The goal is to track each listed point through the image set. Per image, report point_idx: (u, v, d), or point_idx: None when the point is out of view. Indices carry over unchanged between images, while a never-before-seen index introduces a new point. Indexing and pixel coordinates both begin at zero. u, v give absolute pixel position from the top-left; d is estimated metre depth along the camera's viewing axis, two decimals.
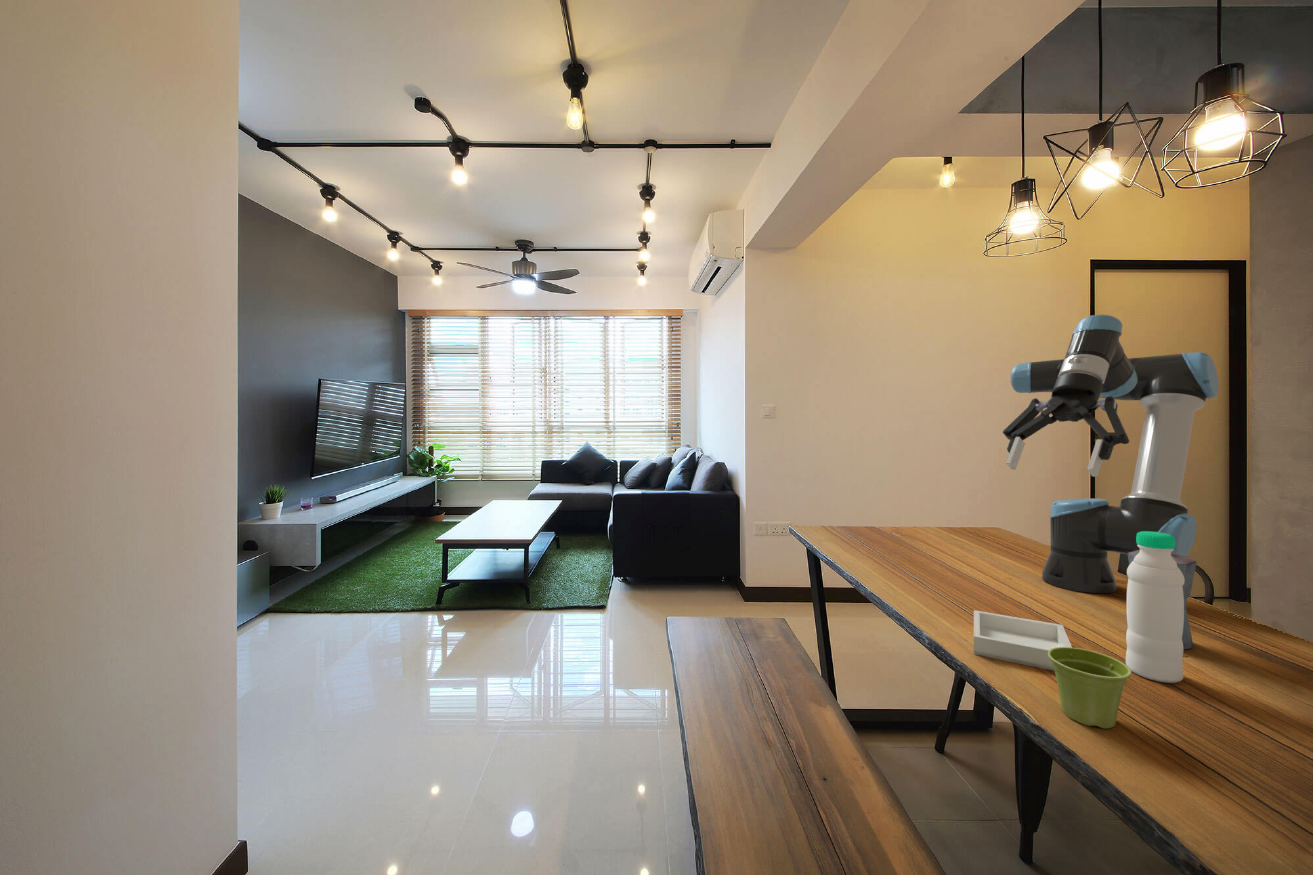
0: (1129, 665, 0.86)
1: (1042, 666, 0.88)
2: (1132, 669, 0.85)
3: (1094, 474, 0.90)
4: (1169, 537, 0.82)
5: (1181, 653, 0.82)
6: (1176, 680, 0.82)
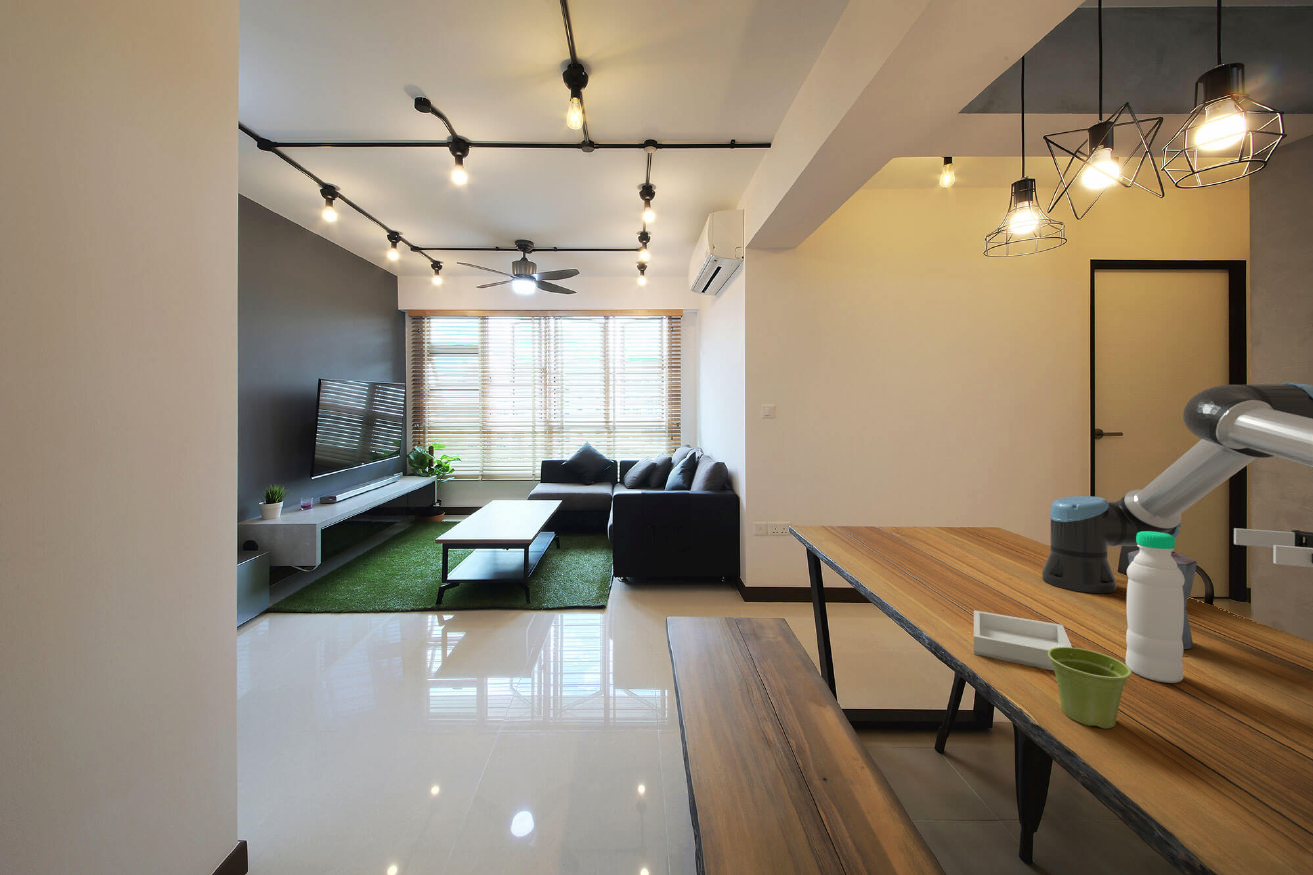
0: (1129, 665, 0.86)
1: (1042, 666, 0.88)
2: (1132, 669, 0.85)
3: (1234, 533, 0.84)
4: (1169, 537, 0.82)
5: (1181, 653, 0.82)
6: (1176, 680, 0.82)
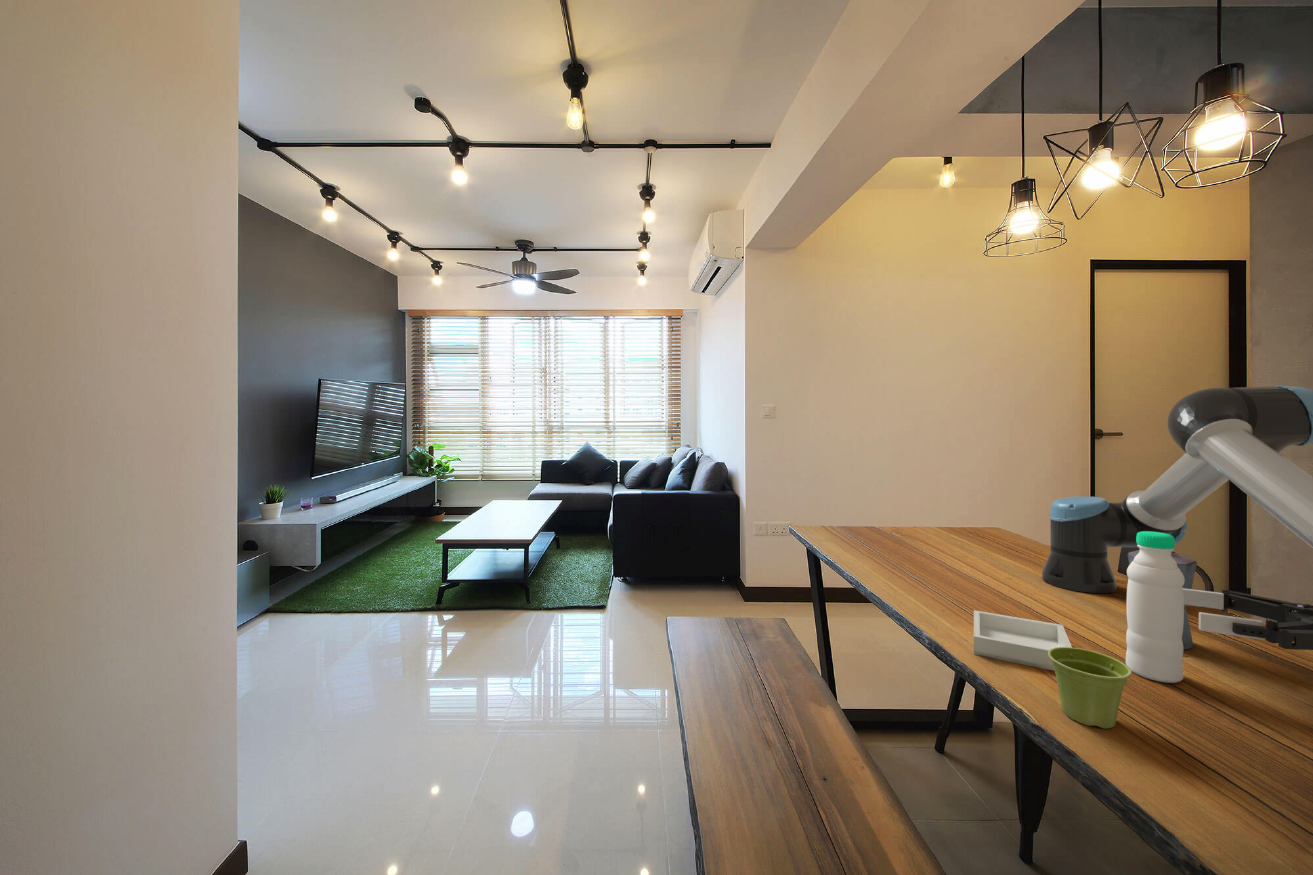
0: (1129, 665, 0.86)
1: (1042, 666, 0.88)
2: (1132, 669, 0.85)
3: None
4: (1169, 537, 0.82)
5: (1181, 653, 0.82)
6: (1176, 680, 0.82)
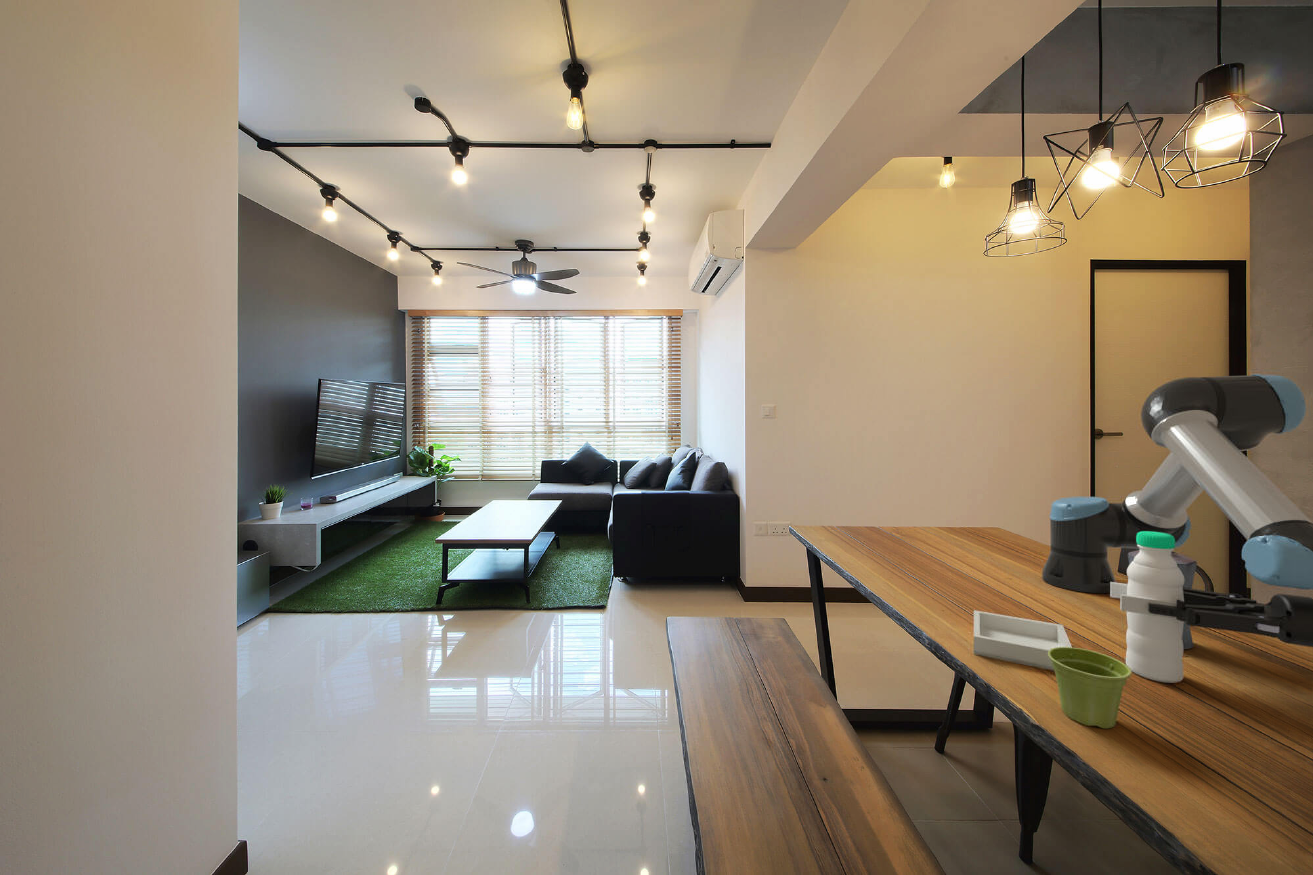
0: (1129, 665, 0.86)
1: (1042, 666, 0.88)
2: (1132, 669, 0.85)
3: (1110, 586, 0.91)
4: (1169, 537, 0.82)
5: (1181, 653, 0.82)
6: (1176, 680, 0.82)
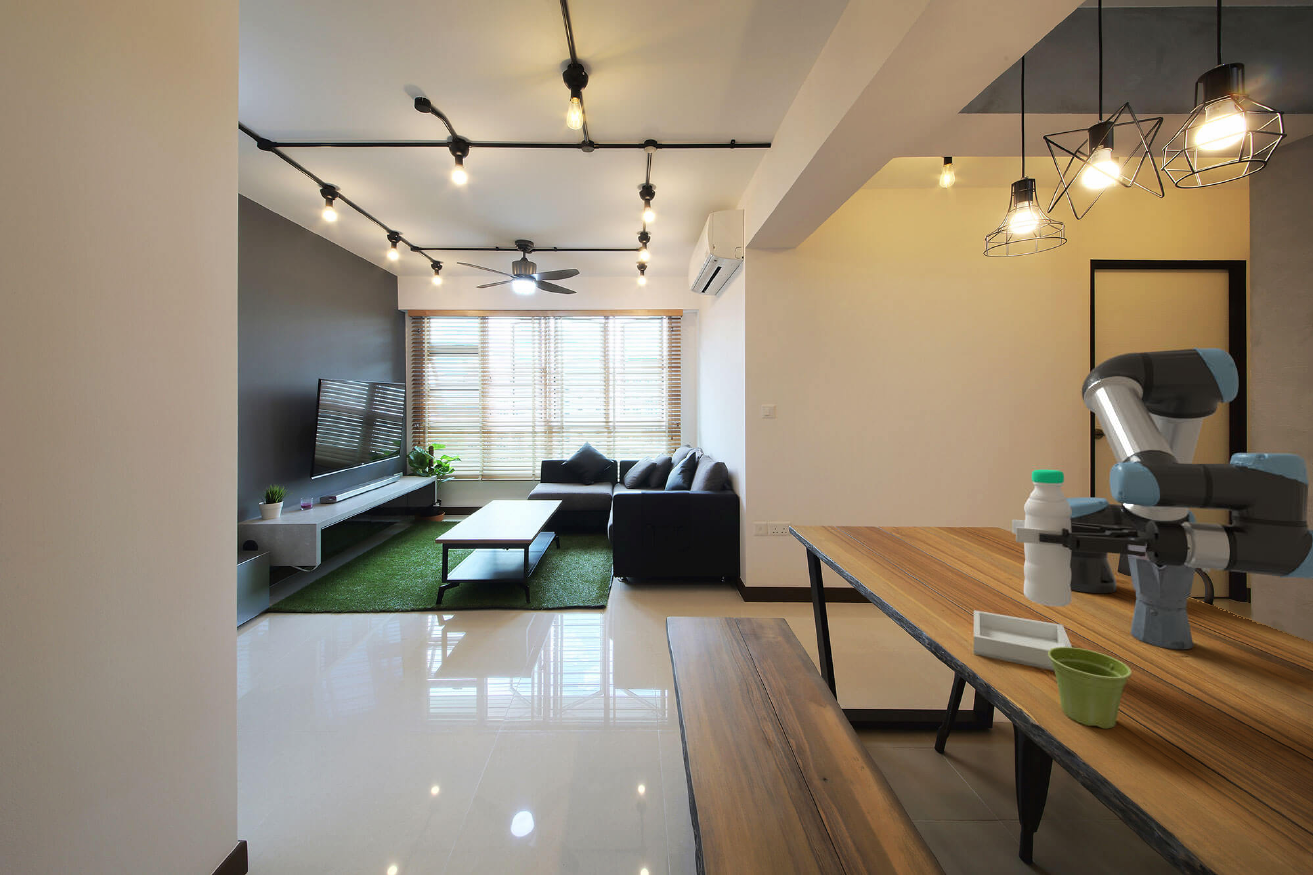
0: (1025, 593, 0.93)
1: (1042, 666, 0.88)
2: (1028, 596, 0.92)
3: (1012, 523, 0.98)
4: (1058, 472, 0.89)
5: (1068, 579, 0.89)
6: (1064, 604, 0.89)
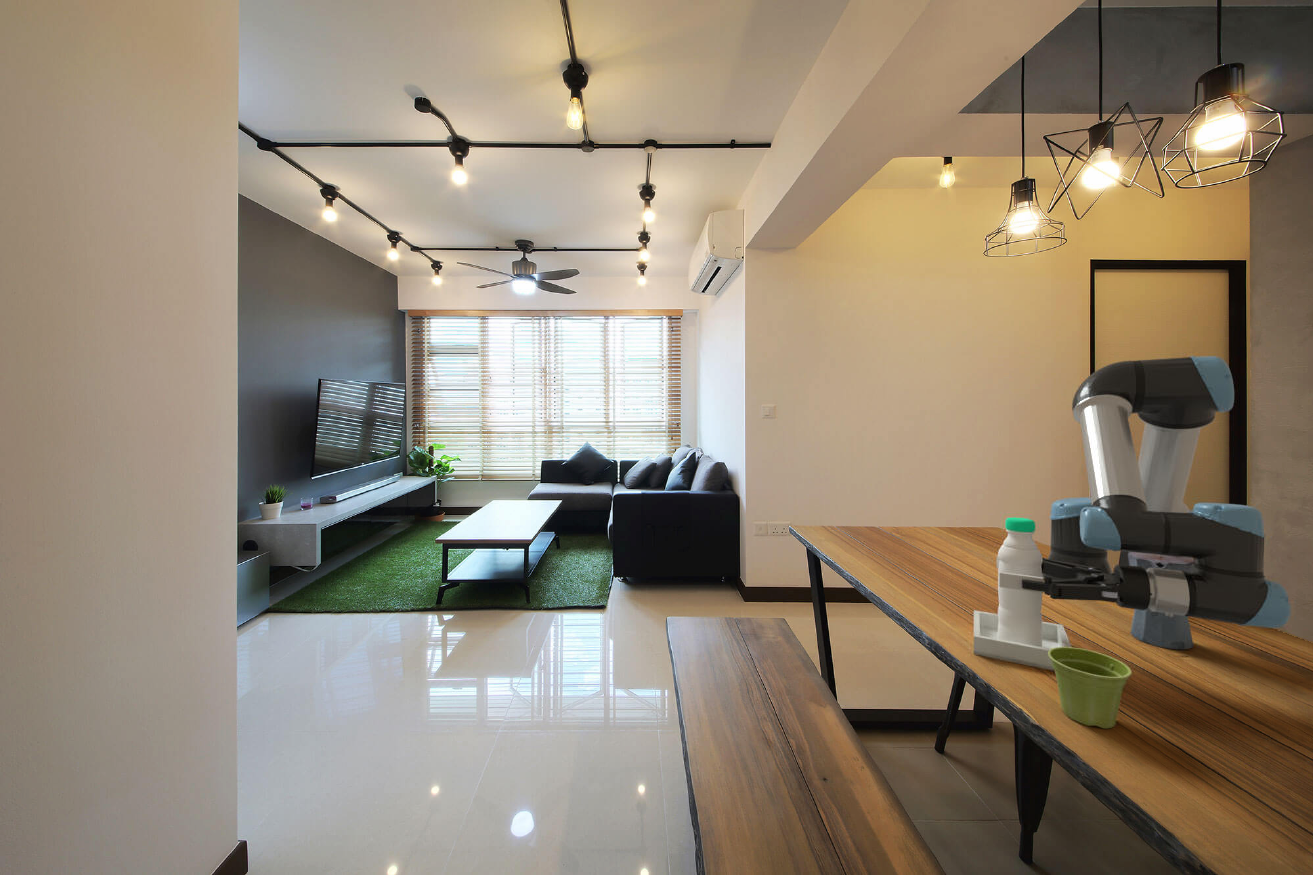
0: (999, 637, 0.96)
1: (1042, 666, 0.88)
2: None
3: None
4: (1029, 522, 0.93)
5: (1039, 625, 0.92)
6: None
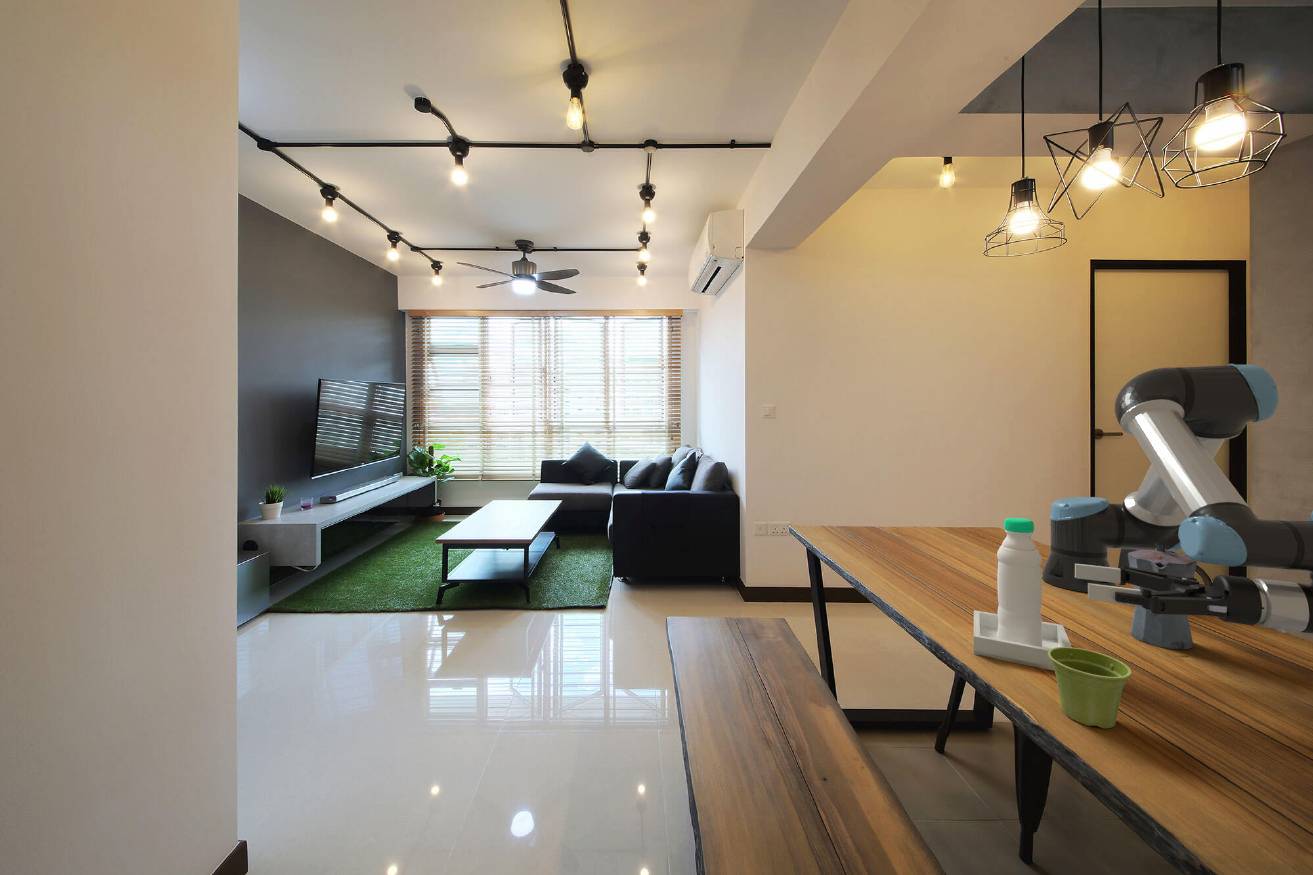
0: (999, 637, 0.96)
1: (1042, 666, 0.88)
2: None
3: (1075, 567, 0.96)
4: (1028, 522, 0.93)
5: (1039, 625, 0.92)
6: None
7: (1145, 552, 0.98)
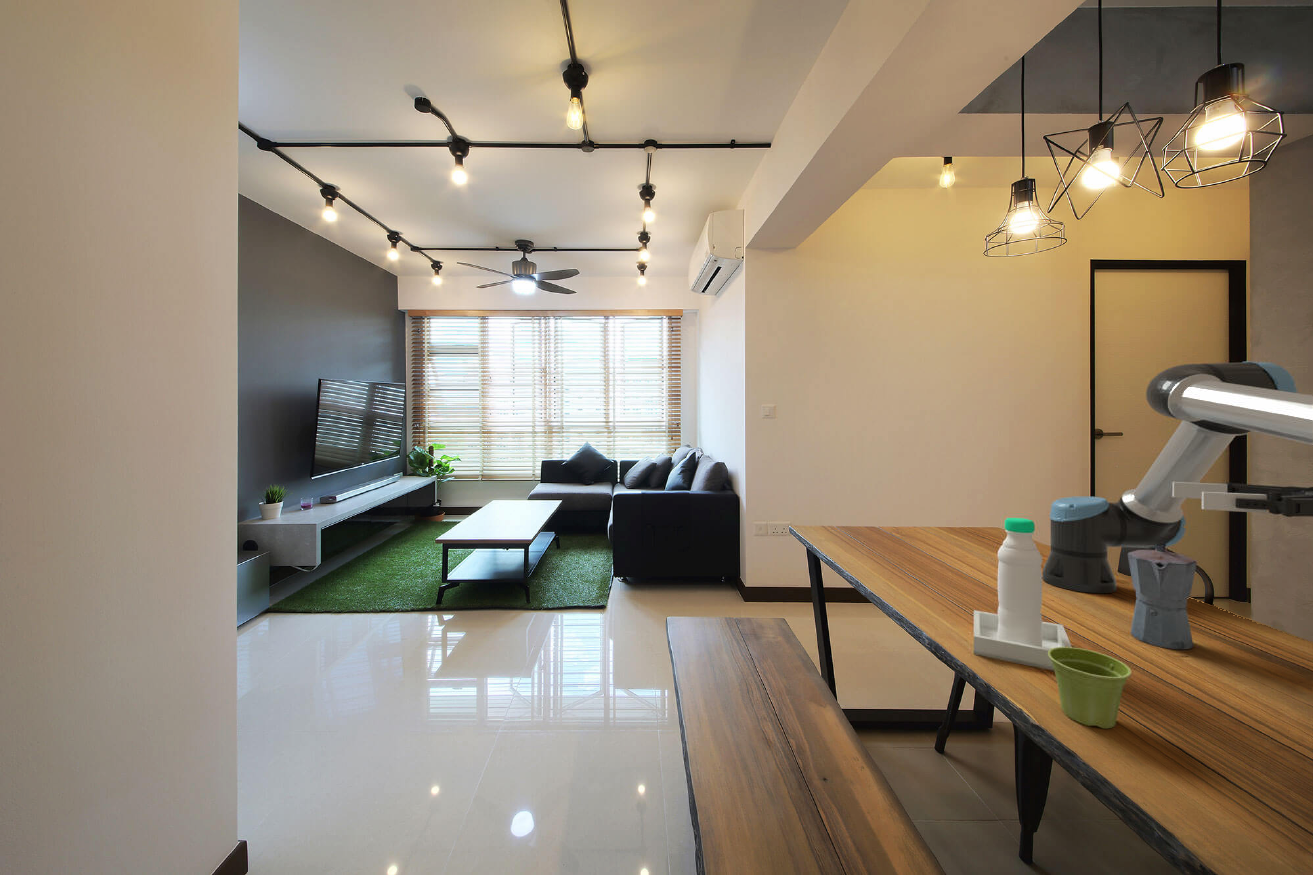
0: (999, 637, 0.96)
1: (1042, 666, 0.88)
2: None
3: (1173, 486, 0.88)
4: (1029, 522, 0.93)
5: (1039, 625, 0.92)
6: None
7: (1145, 552, 0.98)
